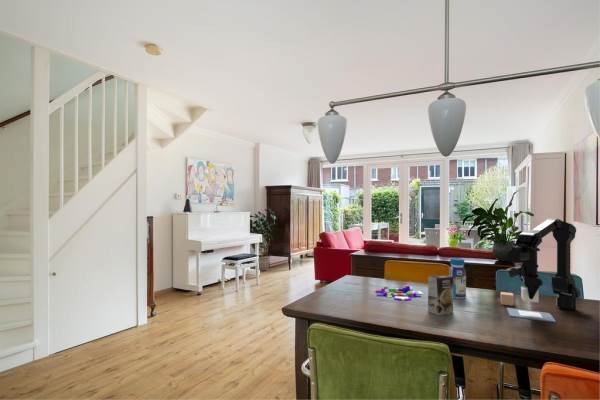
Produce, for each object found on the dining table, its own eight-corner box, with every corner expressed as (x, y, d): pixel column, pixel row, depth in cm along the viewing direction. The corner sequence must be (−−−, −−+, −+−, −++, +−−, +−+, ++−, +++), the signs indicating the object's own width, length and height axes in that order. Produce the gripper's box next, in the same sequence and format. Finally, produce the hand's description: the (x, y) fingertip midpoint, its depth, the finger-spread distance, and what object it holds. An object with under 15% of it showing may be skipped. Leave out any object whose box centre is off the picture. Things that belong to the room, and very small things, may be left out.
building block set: (380, 300, 165) (380, 292, 165) (374, 290, 186) (374, 282, 186) (430, 302, 163) (430, 293, 163) (418, 291, 184) (418, 283, 184)
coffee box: (438, 315, 141) (438, 278, 142) (427, 311, 147) (427, 275, 147) (454, 313, 145) (453, 276, 145) (442, 309, 151) (442, 273, 151)
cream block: (536, 299, 144) (536, 287, 144) (538, 302, 139) (538, 290, 139) (521, 297, 146) (521, 286, 146) (523, 300, 141) (522, 289, 142)
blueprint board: (549, 314, 144) (549, 312, 144) (556, 322, 133) (556, 321, 133) (506, 308, 151) (506, 307, 151) (509, 316, 141) (509, 315, 141)
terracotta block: (512, 303, 161) (512, 293, 161) (513, 306, 156) (513, 295, 157) (500, 301, 163) (500, 291, 163) (501, 304, 159) (501, 294, 159)
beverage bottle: (450, 293, 178) (450, 257, 178) (467, 296, 173) (467, 258, 173) (447, 297, 171) (446, 259, 171) (464, 300, 166) (464, 260, 166)
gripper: (505, 257, 155) (505, 290, 155) (510, 263, 138) (510, 300, 138) (534, 259, 150) (534, 293, 150) (542, 265, 133) (542, 303, 133)
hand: (529, 297), depth 143 cm, fingers closed on cream block, 5 cm apart
